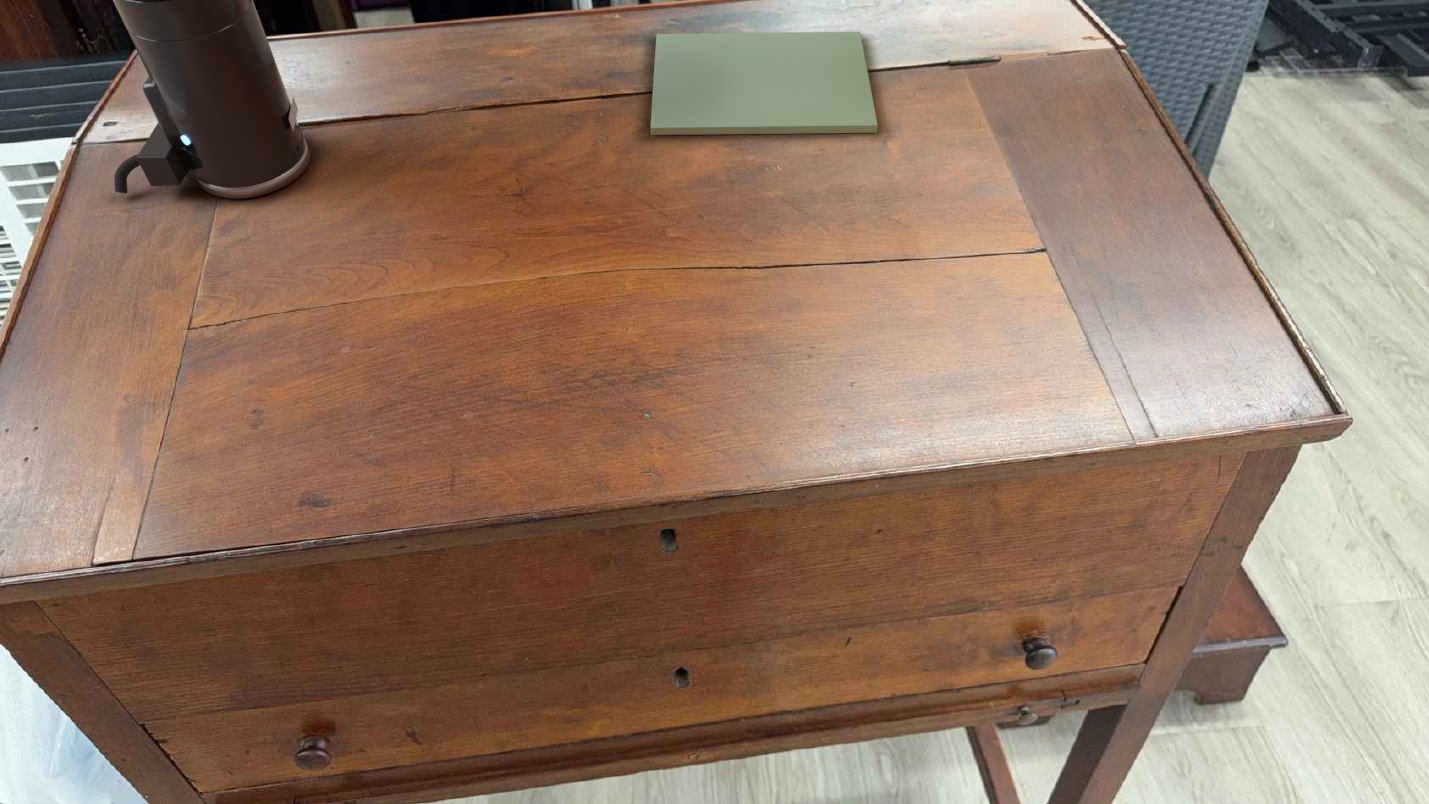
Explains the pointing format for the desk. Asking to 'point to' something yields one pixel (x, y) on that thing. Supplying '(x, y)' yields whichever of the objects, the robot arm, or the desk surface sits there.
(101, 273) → the desk surface
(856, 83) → the mat
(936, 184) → the desk surface
